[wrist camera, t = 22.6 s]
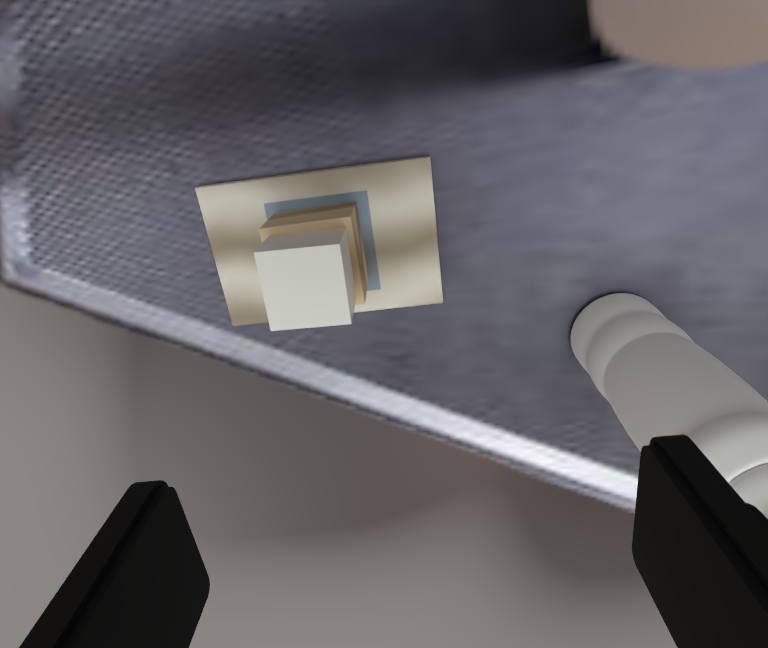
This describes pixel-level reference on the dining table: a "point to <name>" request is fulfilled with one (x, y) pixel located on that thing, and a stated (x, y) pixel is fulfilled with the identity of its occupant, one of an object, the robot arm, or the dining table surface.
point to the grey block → (306, 279)
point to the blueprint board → (321, 188)
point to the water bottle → (674, 389)
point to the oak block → (323, 220)
